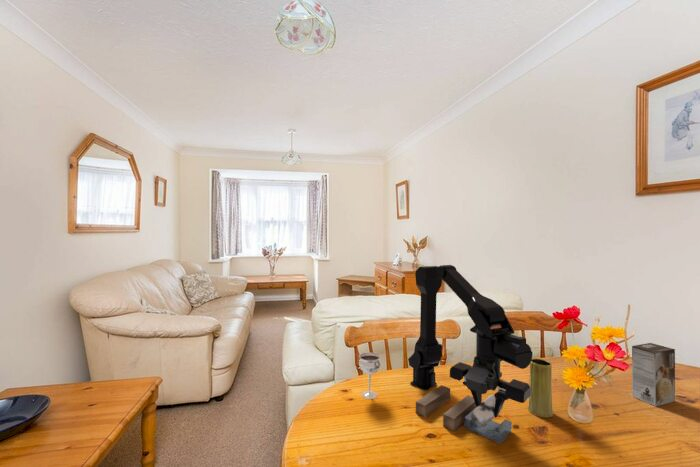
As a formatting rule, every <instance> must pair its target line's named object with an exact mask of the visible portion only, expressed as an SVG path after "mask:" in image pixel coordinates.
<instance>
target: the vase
mask: <svg viewBox="0 0 700 467" xmlns="http://www.w3.org/2000/svg"><path fill="white" fill-rule="evenodd" d="M528 384H529V386H530V388H531V396H530V397H529V398H528V406H527V410H528V411H529V412H530V413H531V414H532V415H534V416H537V417H538V418H539V417H540V418H545V419H549V418H552V417H553V416H554V411H553V395H552V394H553V392H552V389H553V387H552V362H550V361H548V360H546V359H542V358H532V360H531V363H530V364H529V383H528Z"/></svg>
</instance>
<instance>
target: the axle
mask: <svg viewBox="0 0 700 467" xmlns="http://www.w3.org/2000/svg"><path fill="white" fill-rule="evenodd" d="M503 407H504V405H503V406H502V408H501V410H502V409H503ZM494 410H495V396H494V394H491V395H489V396H488V397H486V398H485V399H484V400H483V401H482V403H481V404H480V405H479V406H477V407H476V408H475V409H474V410H473V411H472V413H471V417H472V420H473V421H474V423H475V424H476V425H478V426H480V427H484V426H486V425H487V424H488V423H489V422H490V421H491V420H492V421H493V419H494V418H495V414H494Z"/></svg>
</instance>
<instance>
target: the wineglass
mask: <svg viewBox="0 0 700 467" xmlns="http://www.w3.org/2000/svg"><path fill="white" fill-rule="evenodd" d="M358 357H359V360H358V365H359V369H360V370H361V371H362V372H363V373H364V374H367V376H368V378H367V379H368V390H365V391H362V392H361V396H362V398H364V399H366V400H373V399H376V398H377V397H378V393H377V392H375V391H373V390H371V380H372V377H371V376H372V375H373V374H376V373H377V372H378V371H379V369H380V367H381V360H380V359H381V355H380V354H378V353H375V352H362V353H360V354H359V355H358Z"/></svg>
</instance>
